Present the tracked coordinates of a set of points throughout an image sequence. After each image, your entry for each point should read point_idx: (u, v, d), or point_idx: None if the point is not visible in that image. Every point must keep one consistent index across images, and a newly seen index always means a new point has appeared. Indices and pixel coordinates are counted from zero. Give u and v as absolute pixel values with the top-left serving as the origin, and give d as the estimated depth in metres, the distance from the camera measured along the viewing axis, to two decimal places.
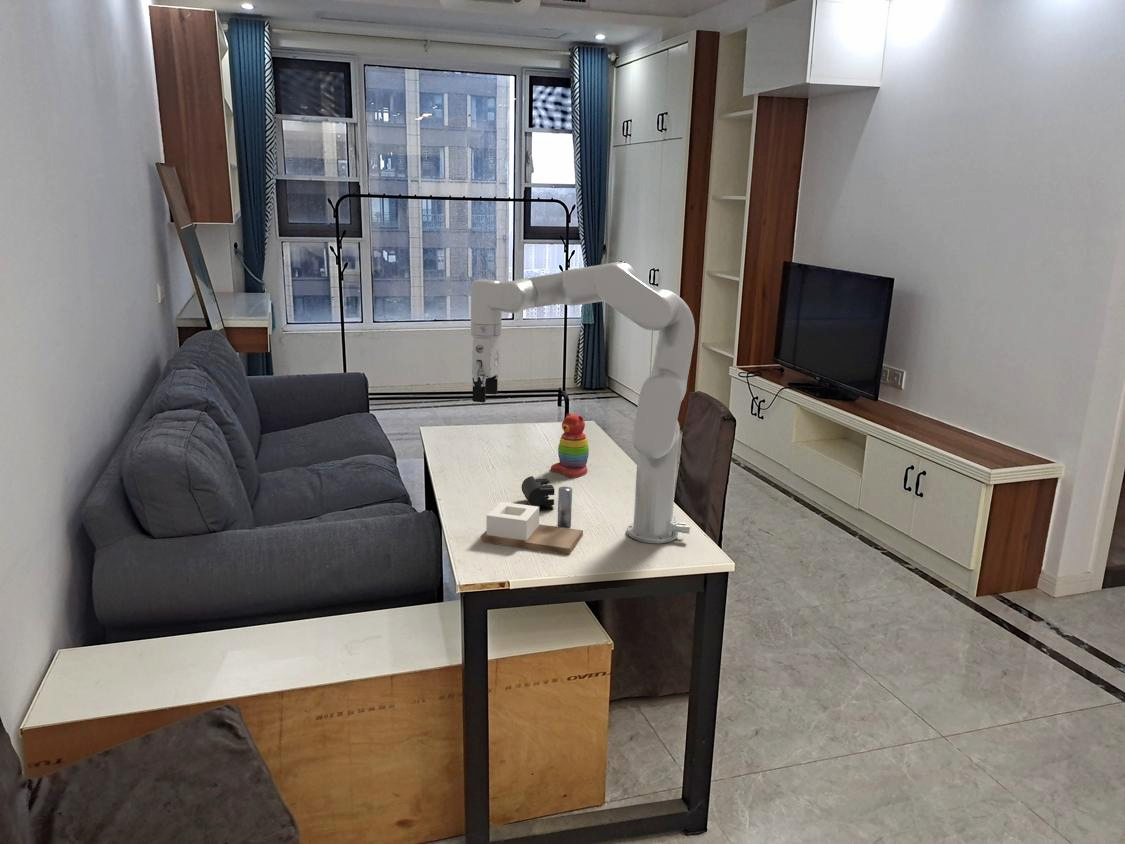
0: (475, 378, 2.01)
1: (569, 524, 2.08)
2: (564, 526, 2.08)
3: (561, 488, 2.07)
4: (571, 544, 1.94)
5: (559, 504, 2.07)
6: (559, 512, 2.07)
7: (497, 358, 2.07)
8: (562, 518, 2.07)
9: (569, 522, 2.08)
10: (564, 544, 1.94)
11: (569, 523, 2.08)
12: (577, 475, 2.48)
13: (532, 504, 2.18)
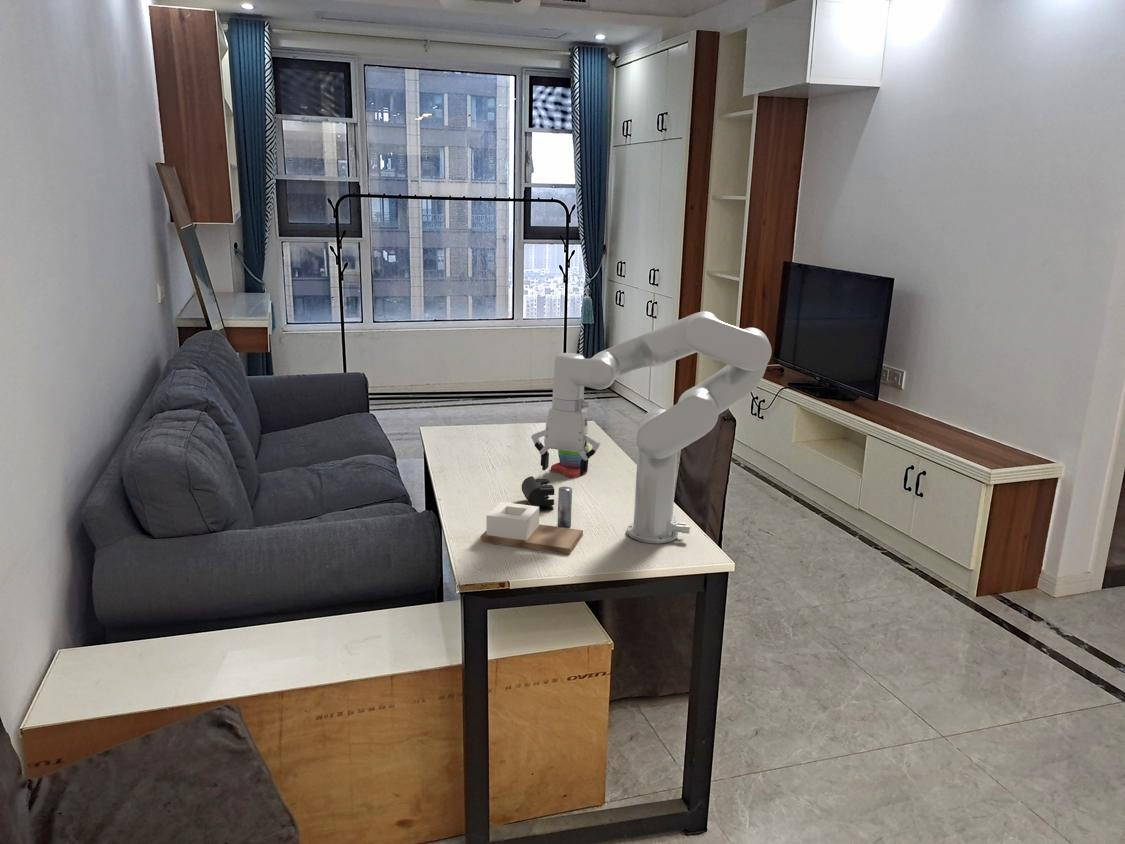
0: (596, 450, 2.02)
1: (569, 524, 2.08)
2: (564, 526, 2.08)
3: (561, 488, 2.07)
4: (571, 544, 1.94)
5: (559, 504, 2.07)
6: (559, 512, 2.07)
7: None
8: (562, 518, 2.07)
9: (569, 522, 2.08)
10: (564, 544, 1.94)
11: (569, 523, 2.08)
12: (577, 475, 2.48)
13: (532, 504, 2.18)
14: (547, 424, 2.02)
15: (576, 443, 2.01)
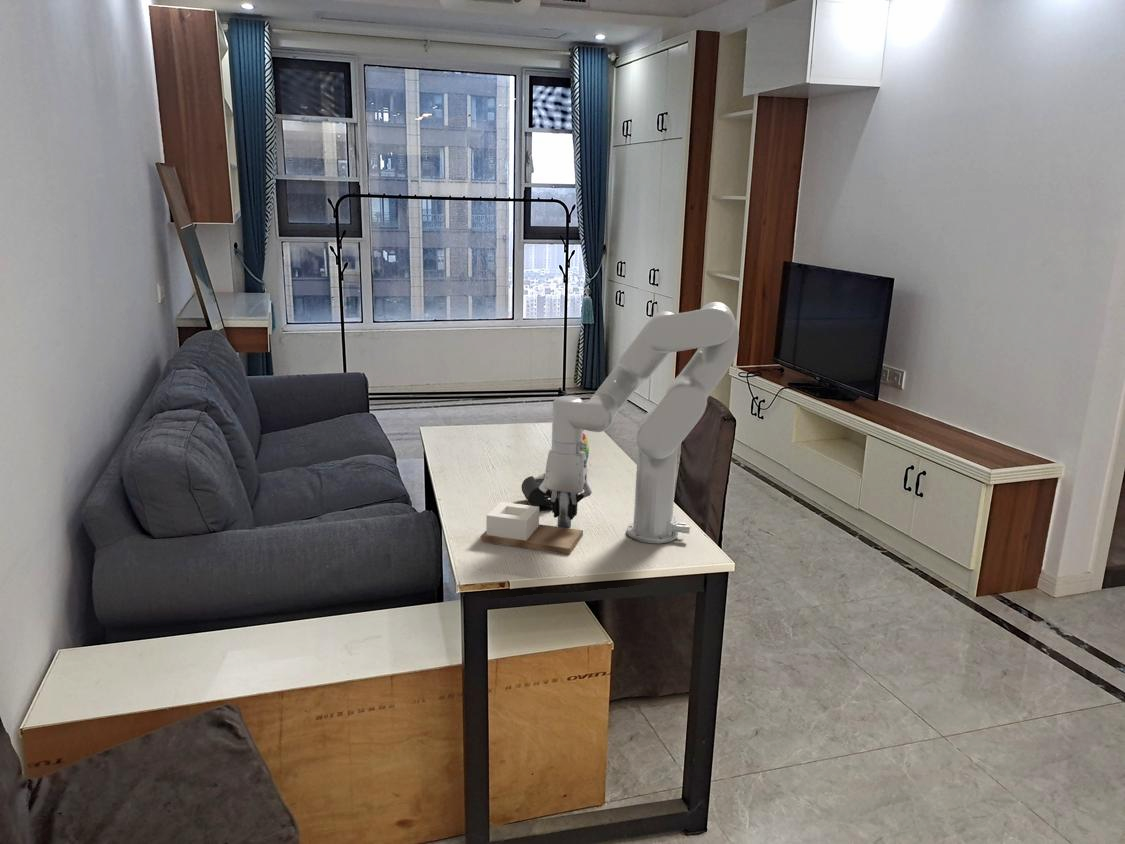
0: None
1: (569, 524, 2.08)
2: (564, 526, 2.08)
3: None
4: (571, 544, 1.94)
5: (559, 504, 2.07)
6: (559, 512, 2.07)
7: None
8: (562, 518, 2.07)
9: (569, 522, 2.08)
10: (564, 544, 1.94)
11: (569, 523, 2.08)
12: None
13: (532, 504, 2.18)
14: (547, 466, 2.05)
15: (576, 485, 2.04)
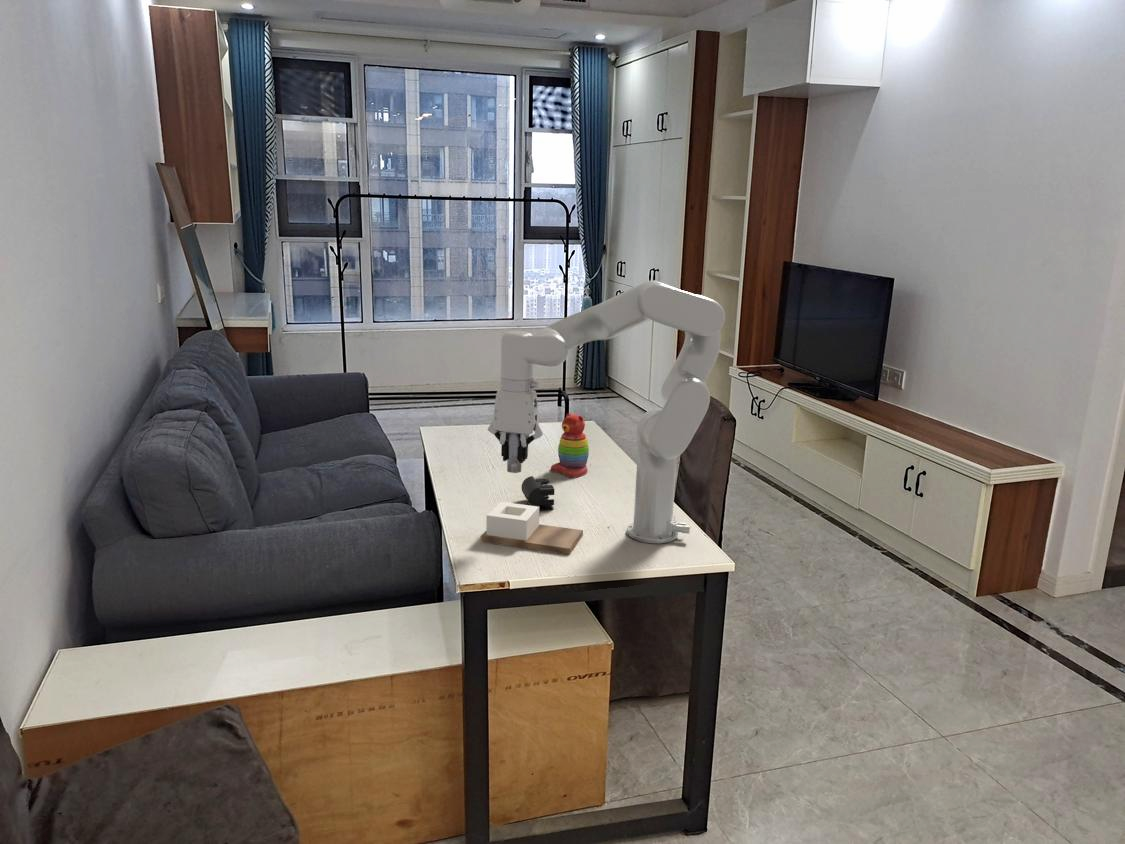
0: (535, 438, 1.95)
1: (519, 468, 1.97)
2: (514, 470, 1.96)
3: None
4: (571, 544, 1.94)
5: (509, 446, 1.95)
6: (508, 455, 1.96)
7: None
8: (511, 461, 1.96)
9: (519, 466, 1.97)
10: (564, 544, 1.94)
11: (519, 467, 1.97)
12: (577, 475, 2.48)
13: (532, 504, 2.18)
14: (495, 406, 1.93)
15: (526, 425, 1.92)
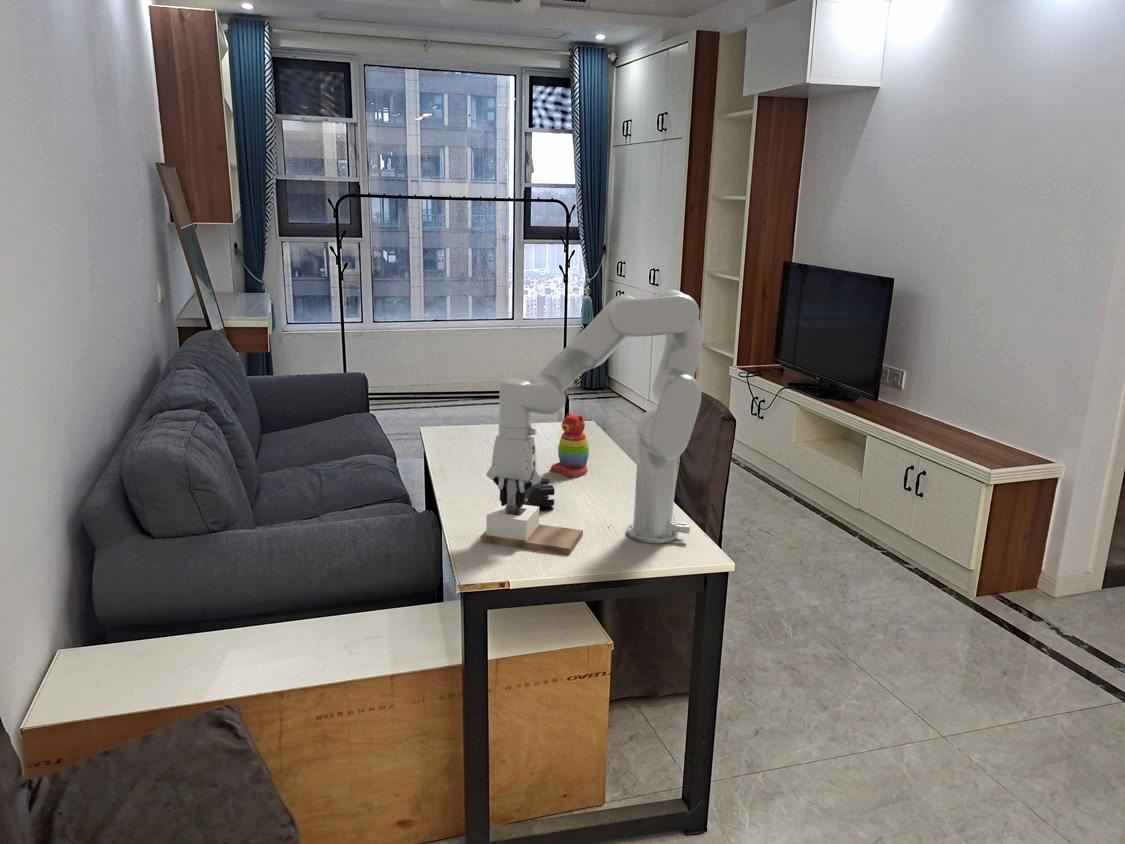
0: None
1: (517, 513, 2.00)
2: None
3: None
4: (571, 544, 1.94)
5: (507, 491, 1.98)
6: (507, 500, 1.99)
7: None
8: (509, 506, 1.99)
9: (517, 511, 1.99)
10: (564, 544, 1.94)
11: (518, 512, 2.00)
12: (577, 475, 2.48)
13: (532, 504, 2.18)
14: (494, 452, 1.96)
15: (524, 472, 1.95)
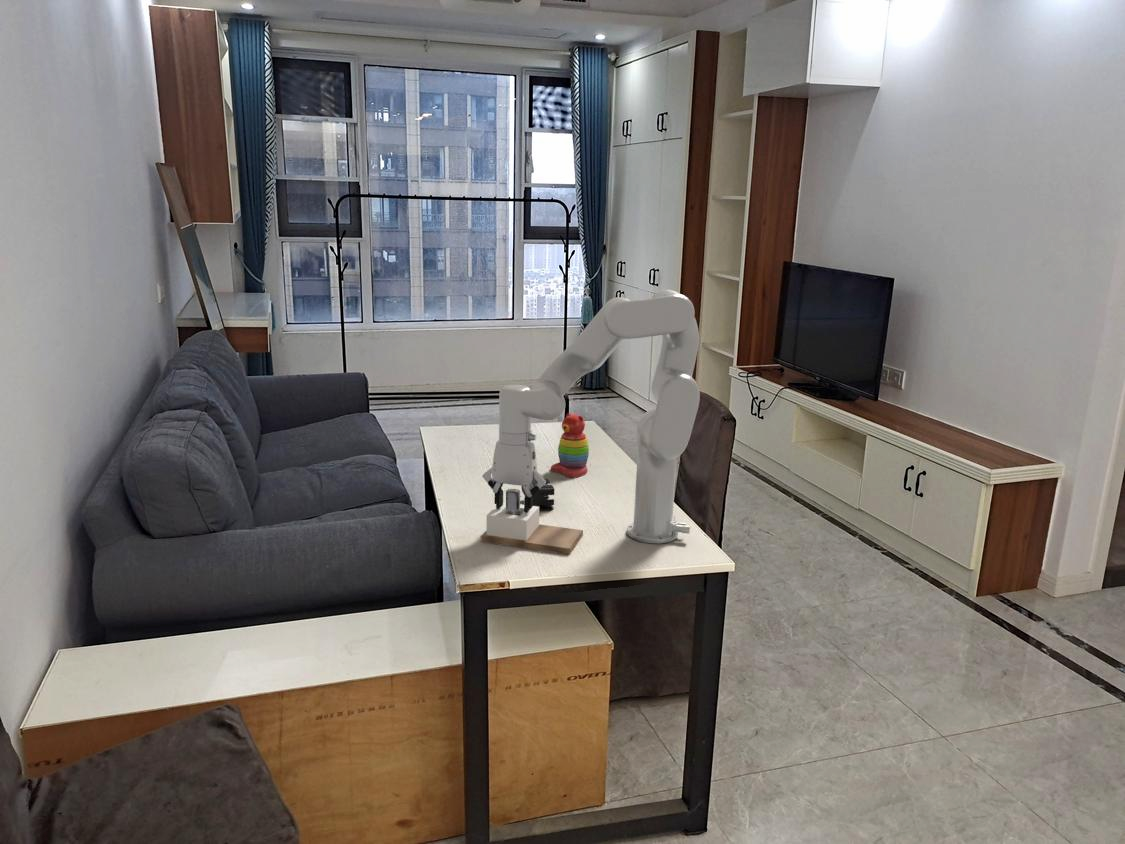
0: (540, 487, 1.97)
1: None
2: None
3: (509, 490, 2.00)
4: (571, 544, 1.94)
5: (507, 507, 1.99)
6: None
7: None
8: None
9: None
10: (564, 544, 1.94)
11: None
12: (577, 475, 2.48)
13: None
14: (494, 458, 1.96)
15: (524, 477, 1.95)
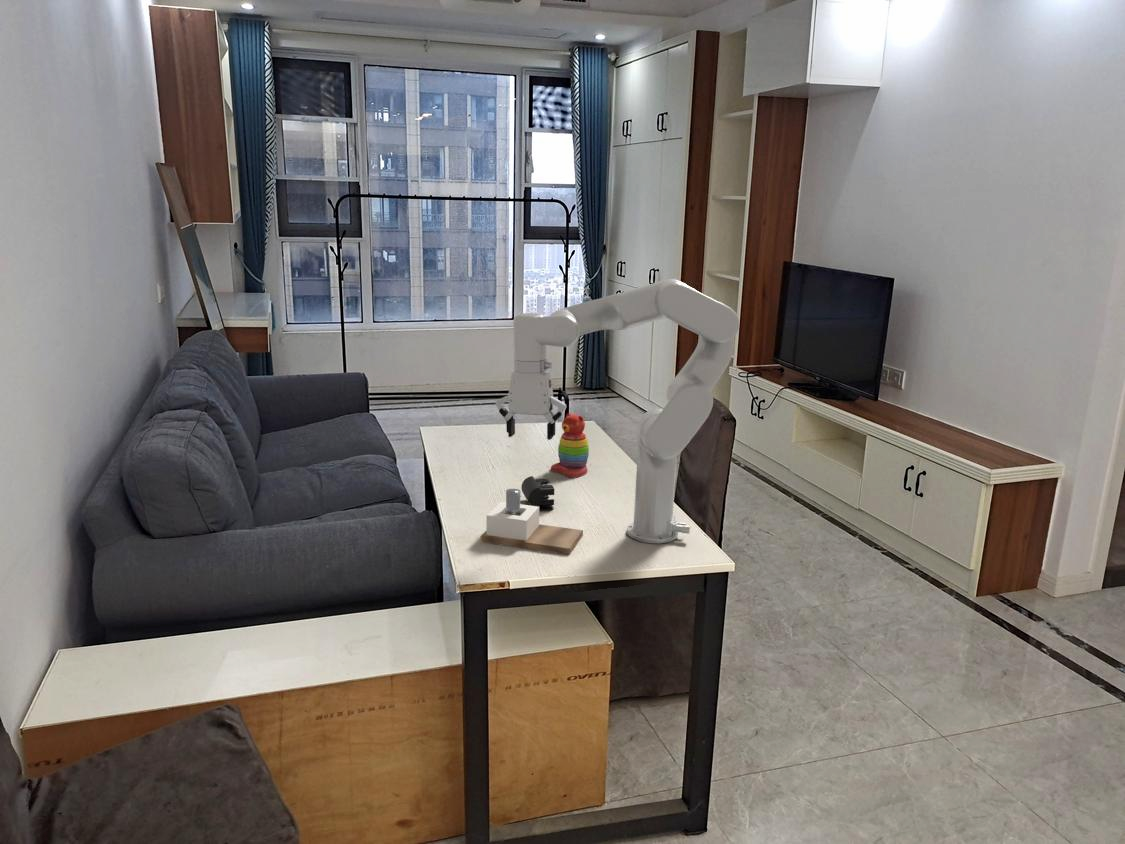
0: None
1: None
2: None
3: (509, 490, 2.00)
4: (571, 544, 1.94)
5: (507, 506, 1.99)
6: None
7: None
8: None
9: None
10: (564, 544, 1.94)
11: None
12: (577, 475, 2.48)
13: (532, 504, 2.18)
14: (510, 388, 1.95)
15: (541, 406, 1.94)
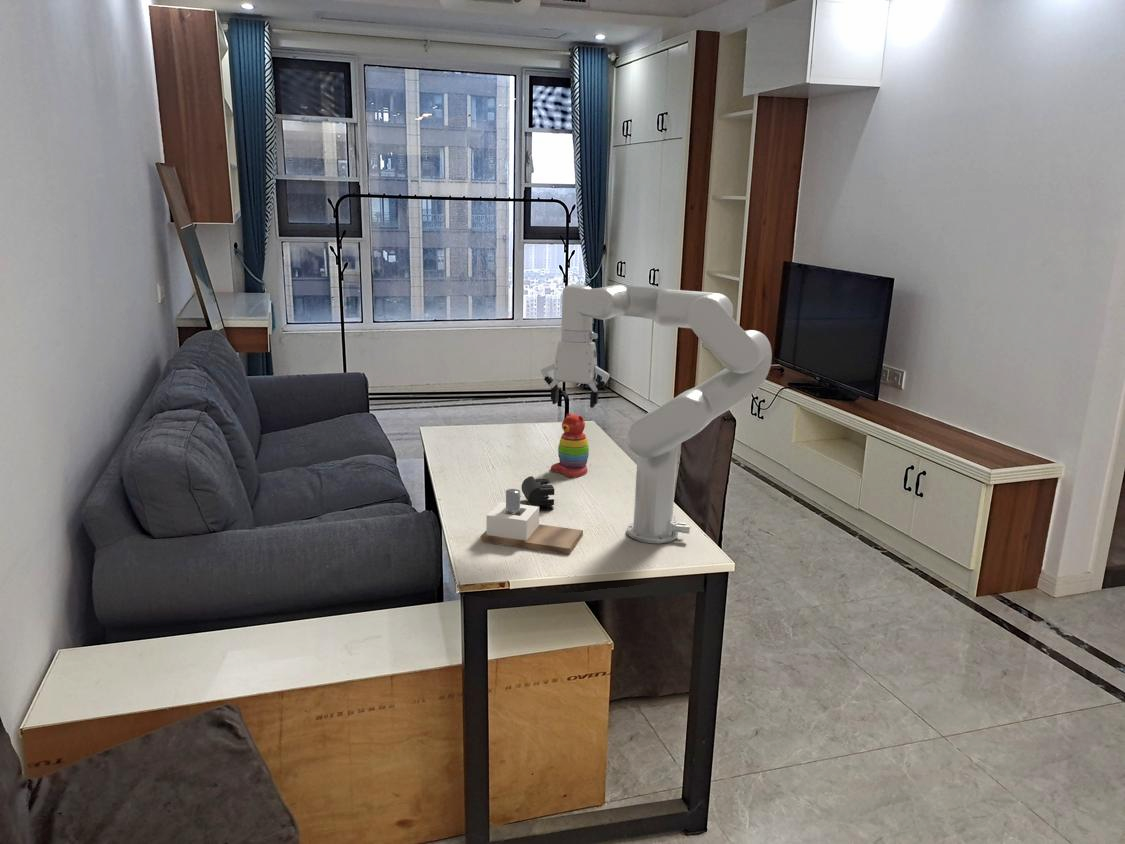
0: None
1: None
2: None
3: (508, 491, 1.99)
4: (571, 544, 1.94)
5: (507, 507, 1.99)
6: None
7: None
8: None
9: None
10: (564, 544, 1.94)
11: None
12: (577, 475, 2.48)
13: (532, 504, 2.18)
14: (556, 357, 2.03)
15: (586, 374, 2.02)
